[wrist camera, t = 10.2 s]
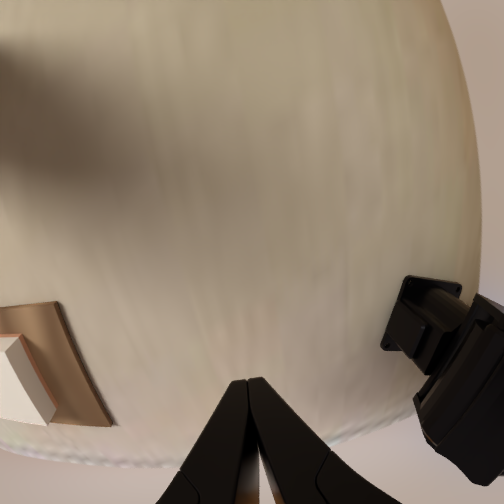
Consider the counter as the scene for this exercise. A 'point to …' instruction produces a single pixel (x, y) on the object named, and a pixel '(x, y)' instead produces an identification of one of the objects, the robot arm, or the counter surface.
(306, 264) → the counter surface
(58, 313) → the board
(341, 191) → the counter surface
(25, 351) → the white box
